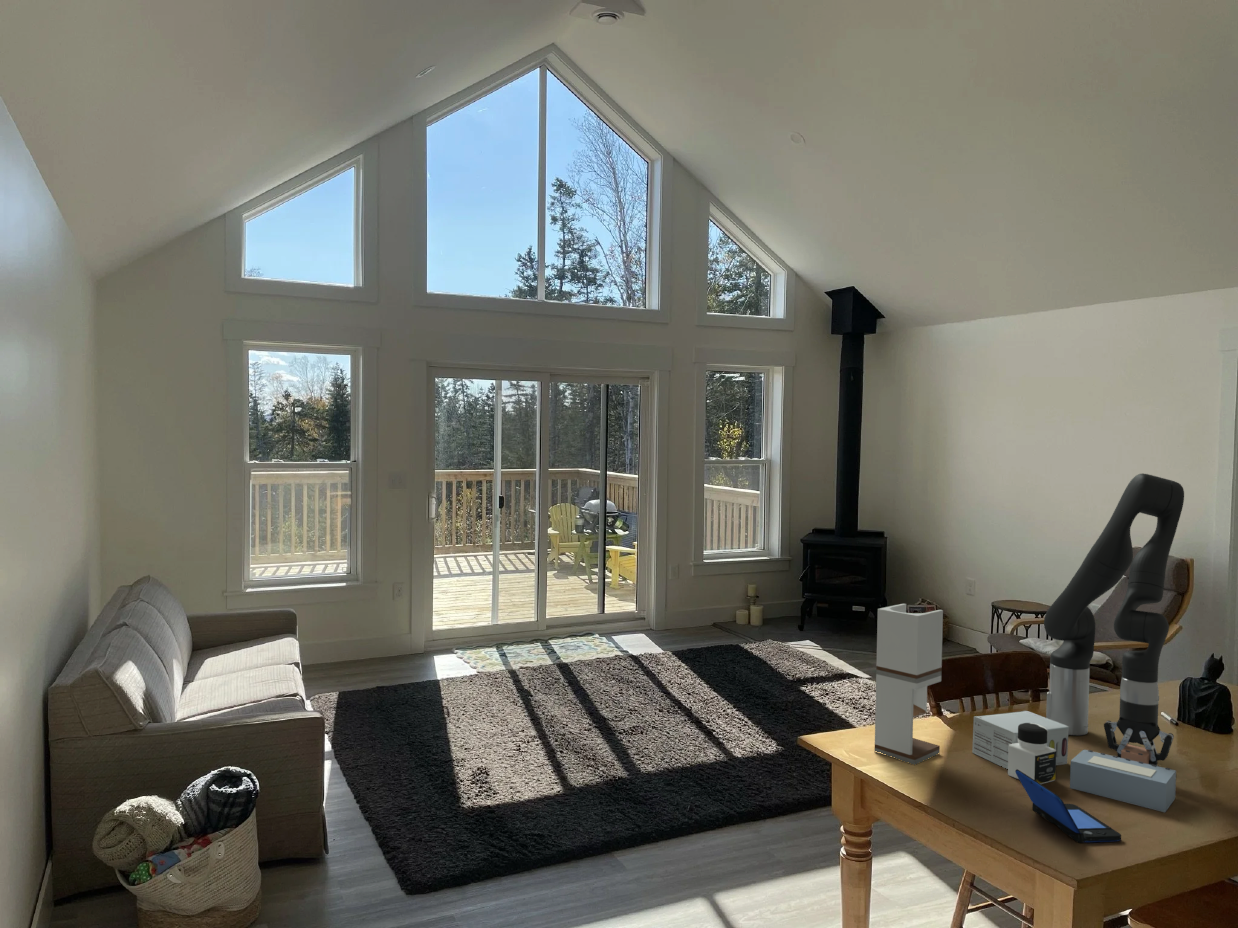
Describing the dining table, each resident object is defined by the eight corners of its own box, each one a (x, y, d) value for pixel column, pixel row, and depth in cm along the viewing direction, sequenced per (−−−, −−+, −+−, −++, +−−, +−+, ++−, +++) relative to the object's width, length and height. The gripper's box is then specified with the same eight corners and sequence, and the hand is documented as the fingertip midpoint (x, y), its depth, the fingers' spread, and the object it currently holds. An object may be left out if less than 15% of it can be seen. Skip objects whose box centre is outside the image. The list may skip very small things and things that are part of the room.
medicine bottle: (1034, 786, 191) (1036, 732, 191) (1007, 775, 198) (1008, 722, 197) (1056, 780, 195) (1057, 727, 194) (1028, 769, 201) (1029, 718, 201)
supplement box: (1013, 773, 199) (1014, 732, 199) (971, 753, 212) (972, 715, 212) (1069, 764, 205) (1070, 725, 205) (1025, 746, 218) (1026, 708, 217)
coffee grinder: (914, 764, 203) (918, 615, 202) (874, 752, 211) (877, 608, 210) (939, 753, 211) (943, 610, 210) (899, 742, 219) (903, 603, 218)
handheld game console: (1124, 843, 165) (1125, 795, 165) (1058, 846, 163) (1059, 797, 163) (1073, 808, 180) (1074, 764, 180) (1012, 810, 179) (1013, 766, 179)
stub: (1120, 776, 197) (1121, 749, 197) (1127, 769, 202) (1127, 743, 202) (1145, 782, 194) (1146, 755, 194) (1151, 775, 198) (1152, 748, 198)
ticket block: (1069, 787, 191) (1070, 759, 191) (1082, 775, 198) (1083, 748, 198) (1165, 812, 179) (1166, 782, 178) (1175, 798, 186) (1176, 769, 186)
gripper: (1099, 695, 200) (1097, 768, 200) (1172, 708, 190) (1170, 785, 190) (1108, 688, 205) (1106, 760, 206) (1179, 701, 196) (1177, 776, 196)
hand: (1136, 772), depth 198 cm, fingers closed on stub, 5 cm apart
